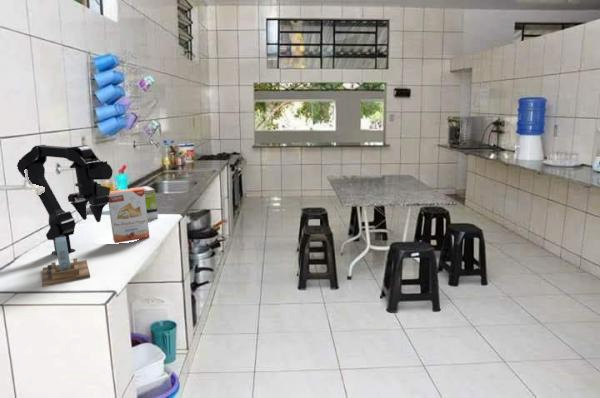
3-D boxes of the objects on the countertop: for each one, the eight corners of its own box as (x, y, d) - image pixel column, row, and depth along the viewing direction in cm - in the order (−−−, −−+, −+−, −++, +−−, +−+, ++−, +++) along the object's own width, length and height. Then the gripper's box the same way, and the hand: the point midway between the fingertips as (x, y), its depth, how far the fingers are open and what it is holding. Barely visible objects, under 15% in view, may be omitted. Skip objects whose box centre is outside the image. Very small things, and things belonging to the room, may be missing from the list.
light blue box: (60, 268, 164) (55, 237, 162) (70, 266, 166) (65, 236, 163) (60, 275, 157) (55, 243, 155) (71, 273, 158) (66, 241, 156)
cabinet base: (43, 270, 167) (41, 262, 166) (86, 262, 173) (85, 254, 172) (42, 286, 151) (40, 277, 150) (90, 277, 157) (88, 268, 156)
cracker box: (115, 244, 195) (107, 193, 190) (113, 240, 200) (106, 191, 196) (150, 237, 201) (144, 188, 197) (147, 234, 206) (141, 186, 202)
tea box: (159, 218, 235) (155, 188, 232) (138, 222, 230) (134, 191, 227) (151, 213, 248) (148, 185, 245) (131, 216, 243) (127, 187, 240)
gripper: (119, 177, 178) (125, 218, 181) (91, 175, 188) (97, 213, 192) (91, 182, 169) (98, 225, 172) (64, 180, 180) (70, 220, 183)
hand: (91, 220), depth 180 cm, fingers open, 9 cm apart
